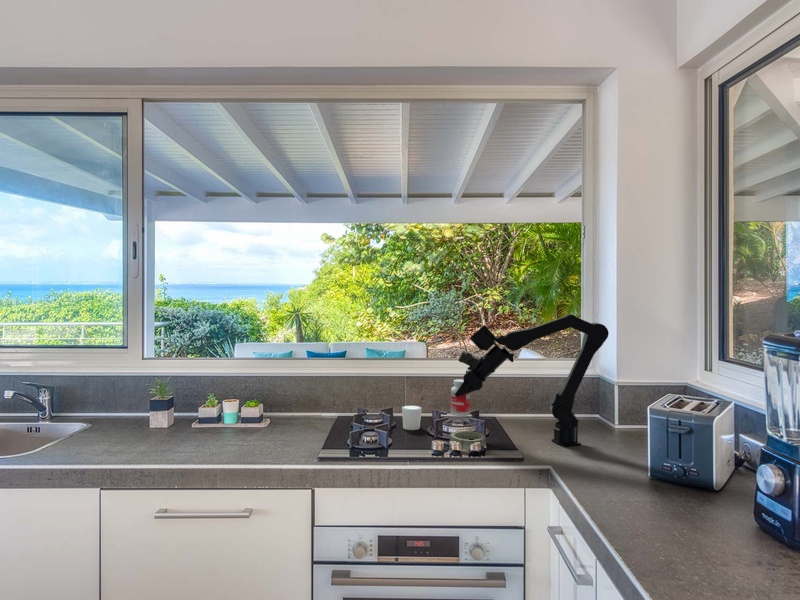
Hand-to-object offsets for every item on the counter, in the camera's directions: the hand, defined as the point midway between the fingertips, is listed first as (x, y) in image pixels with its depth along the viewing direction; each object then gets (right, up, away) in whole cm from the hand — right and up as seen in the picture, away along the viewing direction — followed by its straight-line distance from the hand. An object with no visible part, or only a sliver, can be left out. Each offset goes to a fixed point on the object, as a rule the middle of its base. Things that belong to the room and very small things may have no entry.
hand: (456, 393), depth 162 cm
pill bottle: (+1, -7, 0) cm, 7 cm away
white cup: (-14, -13, +7) cm, 21 cm away
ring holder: (+2, -13, -13) cm, 19 cm away
